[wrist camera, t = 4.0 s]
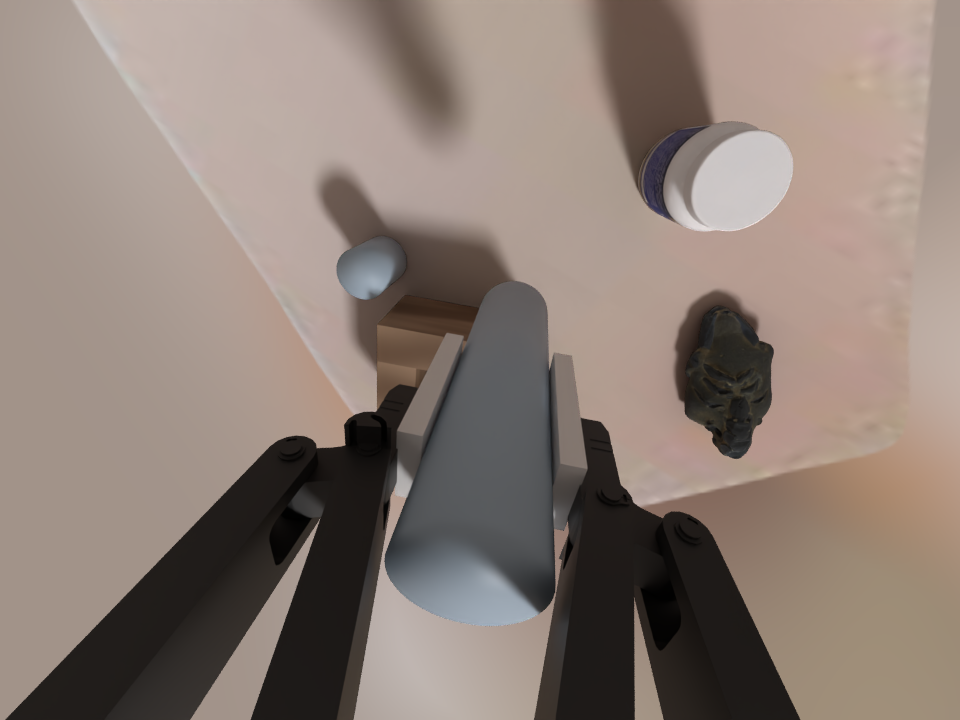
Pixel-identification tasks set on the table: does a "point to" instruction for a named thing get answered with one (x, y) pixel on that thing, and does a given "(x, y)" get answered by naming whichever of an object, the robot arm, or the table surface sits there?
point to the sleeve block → (416, 339)
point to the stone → (729, 381)
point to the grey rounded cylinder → (371, 267)
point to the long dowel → (486, 477)
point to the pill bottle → (716, 176)
